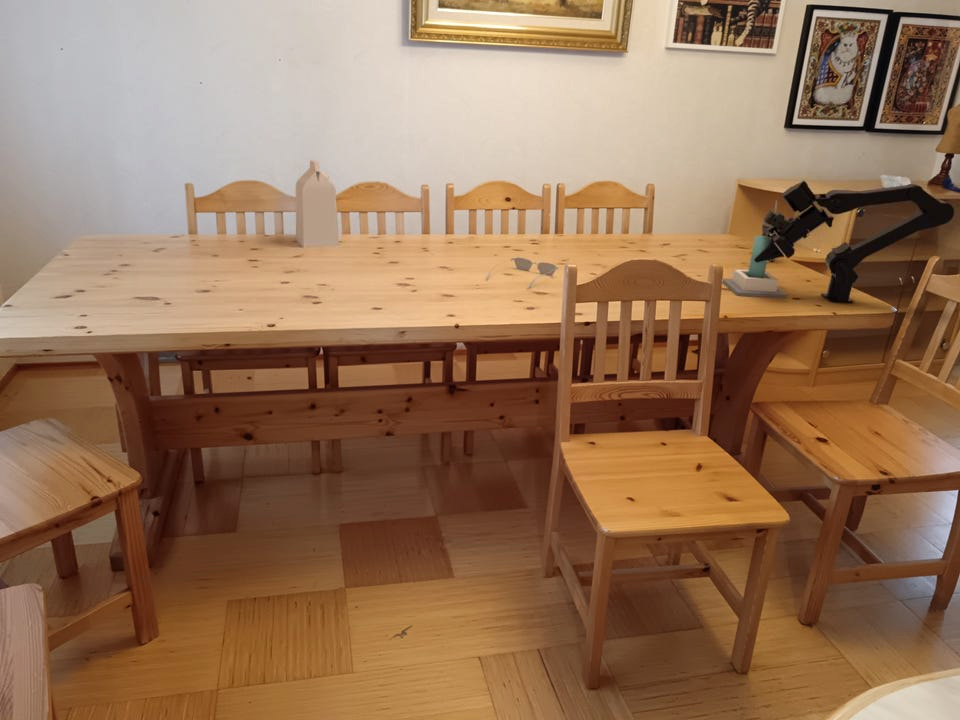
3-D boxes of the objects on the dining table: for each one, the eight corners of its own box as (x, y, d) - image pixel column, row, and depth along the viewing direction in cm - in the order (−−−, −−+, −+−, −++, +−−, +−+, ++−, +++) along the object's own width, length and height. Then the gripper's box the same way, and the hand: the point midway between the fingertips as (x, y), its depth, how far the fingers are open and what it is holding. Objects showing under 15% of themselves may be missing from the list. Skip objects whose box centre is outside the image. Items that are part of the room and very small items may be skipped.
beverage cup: (764, 263, 237) (776, 203, 229) (750, 258, 243) (762, 199, 236) (782, 263, 239) (795, 203, 231) (769, 257, 245) (781, 199, 238)
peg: (765, 282, 207) (774, 237, 202) (759, 284, 204) (768, 240, 198) (750, 278, 209) (758, 235, 204) (744, 281, 206) (752, 237, 201)
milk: (296, 239, 237) (291, 158, 227) (330, 237, 241) (327, 158, 231) (303, 247, 227) (299, 163, 217) (339, 245, 231) (337, 163, 221)
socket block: (786, 298, 201) (789, 282, 199) (737, 295, 201) (740, 280, 199) (767, 283, 214) (770, 269, 212) (721, 281, 214) (724, 267, 212)
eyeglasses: (557, 278, 210) (559, 264, 209) (530, 292, 196) (531, 278, 194) (512, 268, 217) (513, 256, 216) (482, 281, 203) (482, 268, 201)
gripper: (781, 196, 205) (734, 231, 212) (790, 207, 188) (739, 244, 195) (804, 226, 206) (757, 259, 213) (816, 240, 190) (764, 275, 196)
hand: (754, 259), depth 204 cm, fingers closed on peg, 4 cm apart
